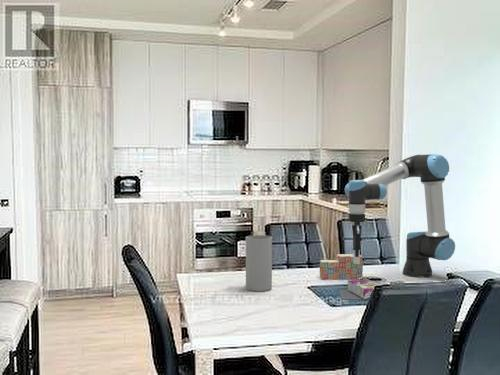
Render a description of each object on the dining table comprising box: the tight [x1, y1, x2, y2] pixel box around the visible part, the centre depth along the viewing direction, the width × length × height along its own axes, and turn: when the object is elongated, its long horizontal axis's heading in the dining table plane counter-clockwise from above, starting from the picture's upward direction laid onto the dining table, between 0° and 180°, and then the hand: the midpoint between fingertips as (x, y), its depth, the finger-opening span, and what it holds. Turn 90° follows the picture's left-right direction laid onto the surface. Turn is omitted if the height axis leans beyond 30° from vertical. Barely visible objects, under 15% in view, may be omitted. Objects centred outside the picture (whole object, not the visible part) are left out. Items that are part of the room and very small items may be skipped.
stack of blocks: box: [319, 253, 364, 281], centre depth 267 cm, size 21×6×12 cm, turn 92°
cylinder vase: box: [245, 234, 273, 293], centre depth 245 cm, size 12×12×25 cm
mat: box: [338, 289, 370, 301], centre depth 233 cm, size 16×16×1 cm
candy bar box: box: [347, 278, 380, 299], centre depth 233 cm, size 11×5×16 cm
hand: (356, 263), depth 238 cm, fingers closed
